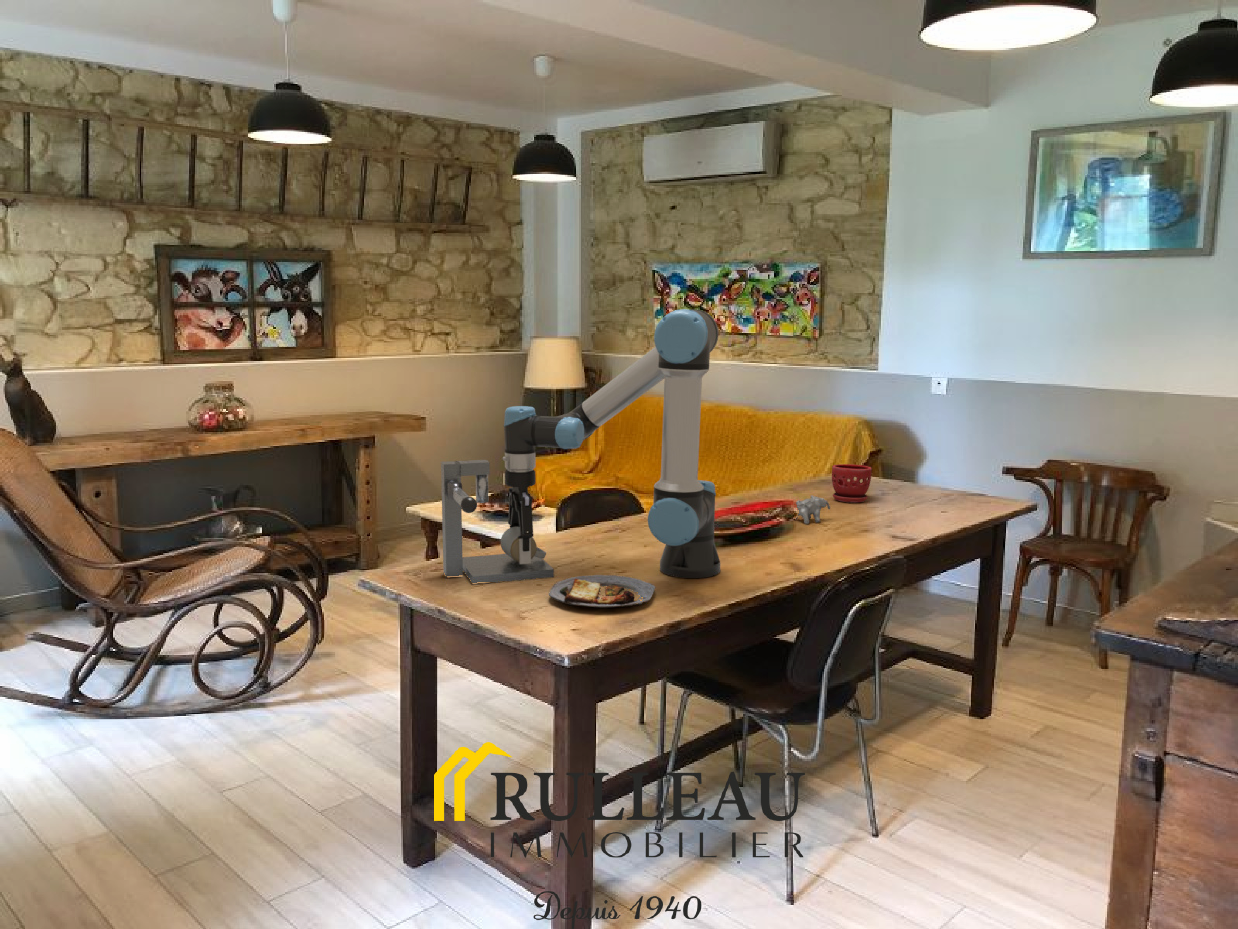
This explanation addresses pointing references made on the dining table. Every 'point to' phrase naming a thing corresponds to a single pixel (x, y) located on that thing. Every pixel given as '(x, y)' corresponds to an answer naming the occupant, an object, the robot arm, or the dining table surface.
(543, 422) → the robot arm
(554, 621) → the dining table surface
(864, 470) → the plant pot
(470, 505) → the lever
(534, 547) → the ceramic mug
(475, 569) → the press
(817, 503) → the elephant statuette
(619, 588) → the food plate
